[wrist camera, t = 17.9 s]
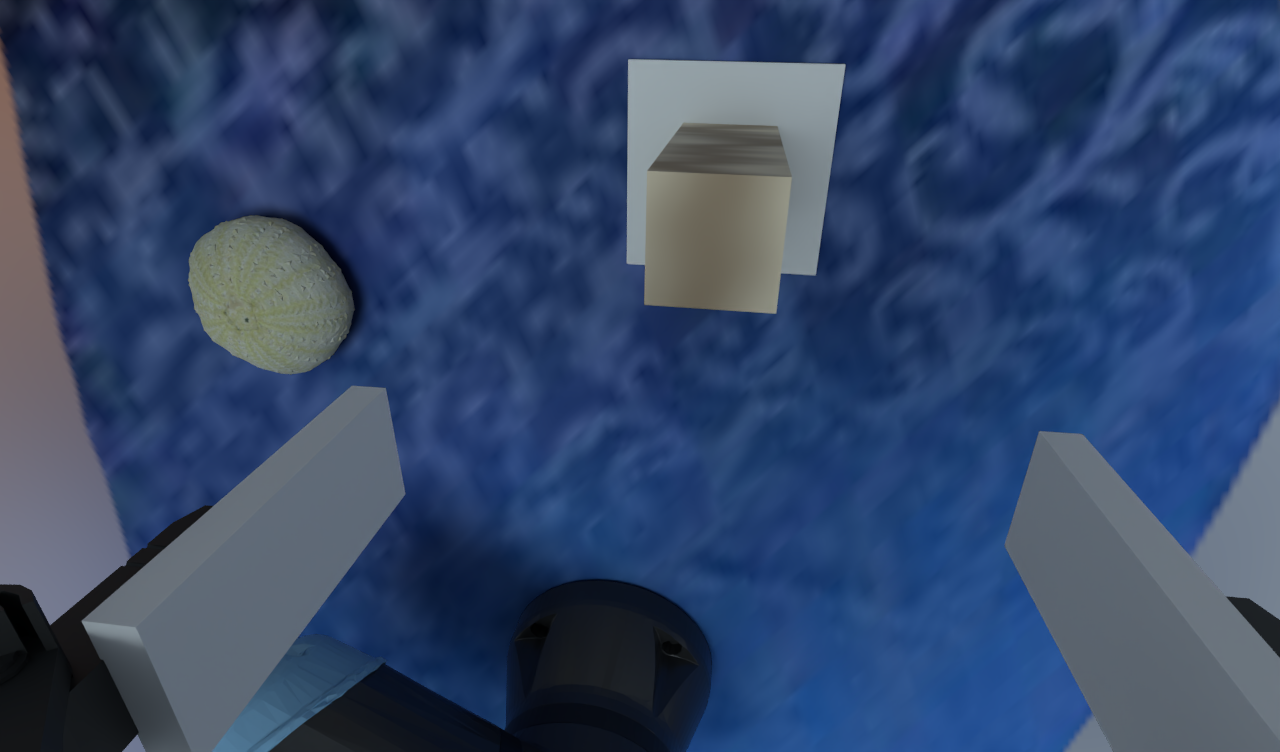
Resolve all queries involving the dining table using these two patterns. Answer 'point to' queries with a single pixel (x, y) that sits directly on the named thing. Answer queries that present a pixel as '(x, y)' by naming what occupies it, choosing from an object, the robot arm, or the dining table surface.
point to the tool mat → (741, 97)
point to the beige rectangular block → (717, 218)
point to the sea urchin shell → (270, 294)
